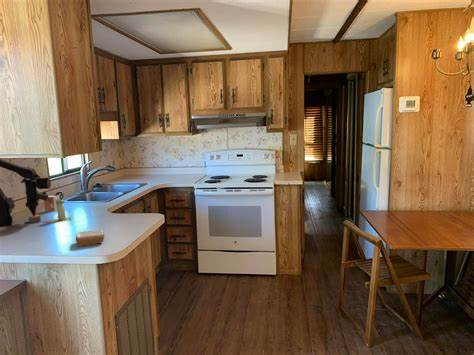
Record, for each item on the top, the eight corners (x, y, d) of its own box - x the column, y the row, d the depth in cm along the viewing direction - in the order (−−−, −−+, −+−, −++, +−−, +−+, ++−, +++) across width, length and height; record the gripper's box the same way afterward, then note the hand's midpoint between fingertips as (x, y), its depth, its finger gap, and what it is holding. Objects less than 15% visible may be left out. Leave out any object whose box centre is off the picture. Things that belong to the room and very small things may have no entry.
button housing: (29, 224, 207) (28, 218, 207) (29, 222, 213) (29, 216, 212) (40, 222, 210) (40, 217, 210) (41, 220, 215) (40, 215, 215)
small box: (44, 212, 240) (43, 196, 238) (51, 210, 245) (49, 195, 244) (54, 212, 238) (53, 197, 236) (60, 210, 243) (59, 195, 242)
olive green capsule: (58, 220, 211) (55, 201, 209) (58, 219, 214) (55, 200, 213) (66, 219, 213) (63, 200, 211) (65, 218, 216) (63, 199, 215)
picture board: (42, 225, 205) (42, 224, 205) (43, 219, 219) (42, 218, 219) (77, 220, 213) (77, 219, 213) (75, 214, 228) (75, 213, 228)
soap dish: (76, 248, 162) (75, 237, 162) (76, 242, 171) (75, 232, 171) (105, 244, 167) (104, 233, 166) (104, 238, 176) (103, 228, 175)
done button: (30, 220, 208) (30, 216, 208) (31, 218, 212) (30, 215, 212) (38, 219, 210) (38, 215, 210) (38, 217, 214) (38, 214, 214)
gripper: (46, 190, 204) (49, 216, 206) (46, 186, 221) (49, 210, 223) (24, 192, 199) (27, 219, 201) (26, 188, 216) (29, 213, 218)
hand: (34, 215), depth 211 cm, fingers closed
